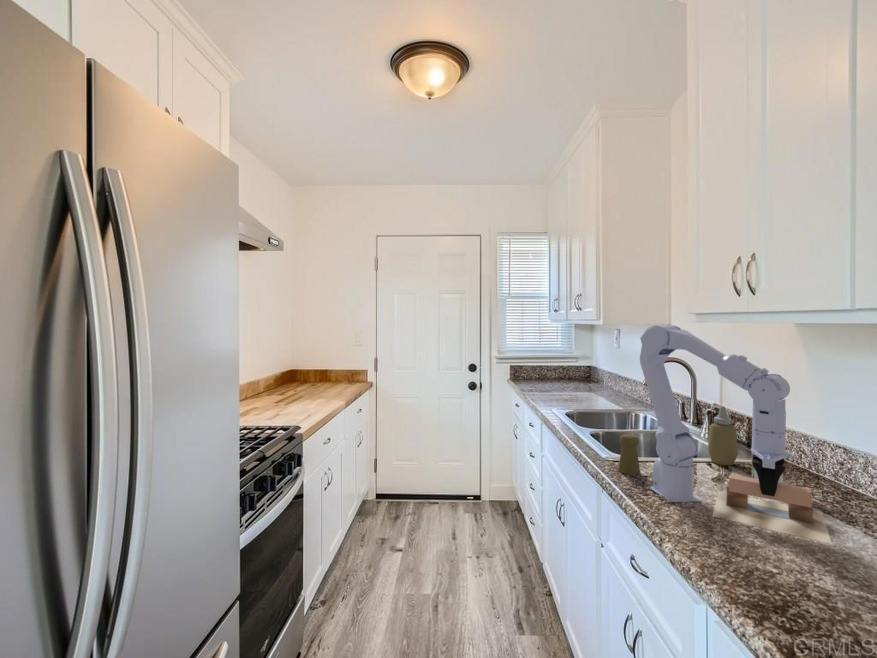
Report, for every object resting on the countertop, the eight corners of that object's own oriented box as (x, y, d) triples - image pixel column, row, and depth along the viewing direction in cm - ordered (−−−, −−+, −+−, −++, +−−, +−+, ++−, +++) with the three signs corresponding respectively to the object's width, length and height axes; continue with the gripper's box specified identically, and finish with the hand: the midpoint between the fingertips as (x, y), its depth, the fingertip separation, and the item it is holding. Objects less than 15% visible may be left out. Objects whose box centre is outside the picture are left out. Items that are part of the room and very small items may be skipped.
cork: (615, 467, 130) (615, 432, 130) (635, 468, 130) (635, 432, 130) (622, 474, 124) (622, 437, 124) (643, 475, 124) (643, 437, 124)
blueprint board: (712, 518, 96) (712, 496, 96) (718, 493, 110) (719, 474, 110) (831, 546, 84) (832, 521, 84) (821, 514, 98) (822, 492, 98)
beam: (729, 491, 95) (729, 477, 95) (729, 487, 98) (730, 474, 98) (811, 507, 87) (811, 493, 87) (810, 502, 89) (810, 488, 89)
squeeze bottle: (701, 459, 138) (701, 404, 137) (722, 458, 139) (723, 403, 139) (722, 468, 130) (722, 409, 130) (744, 466, 131) (745, 408, 131)
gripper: (794, 440, 84) (793, 508, 84) (790, 426, 95) (790, 486, 96) (750, 435, 88) (749, 499, 88) (751, 422, 100) (751, 479, 100)
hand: (767, 492), depth 92 cm, fingers closed on beam, 3 cm apart
